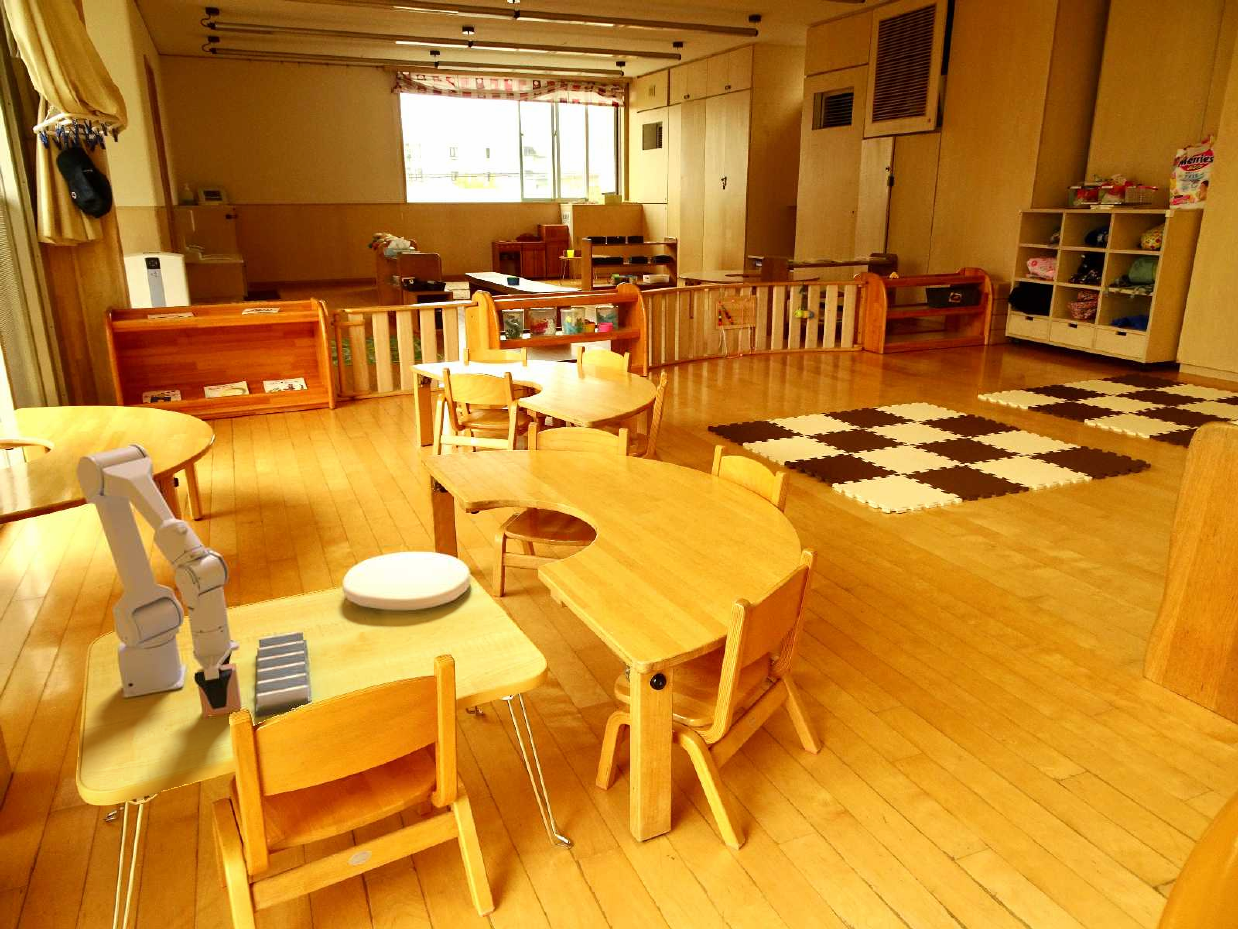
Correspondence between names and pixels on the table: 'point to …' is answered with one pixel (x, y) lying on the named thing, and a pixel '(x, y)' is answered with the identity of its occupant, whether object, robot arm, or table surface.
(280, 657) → the rack
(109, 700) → the table surface
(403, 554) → the white round disc
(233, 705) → the tile
